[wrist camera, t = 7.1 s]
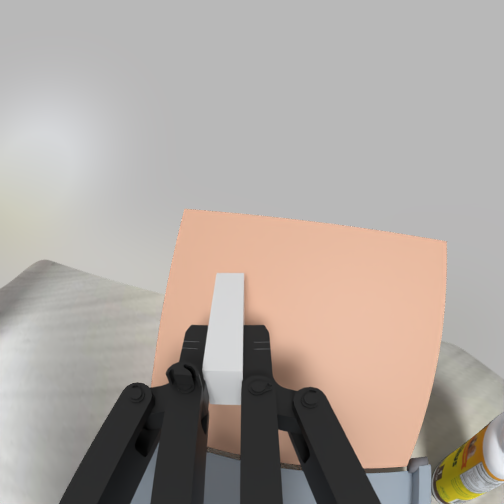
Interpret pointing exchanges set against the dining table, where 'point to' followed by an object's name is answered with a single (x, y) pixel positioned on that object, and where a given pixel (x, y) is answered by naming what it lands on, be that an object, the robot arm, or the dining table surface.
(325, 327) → the panel
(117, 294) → the dining table surface
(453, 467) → the supplement bottle
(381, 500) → the blue-grey tray
